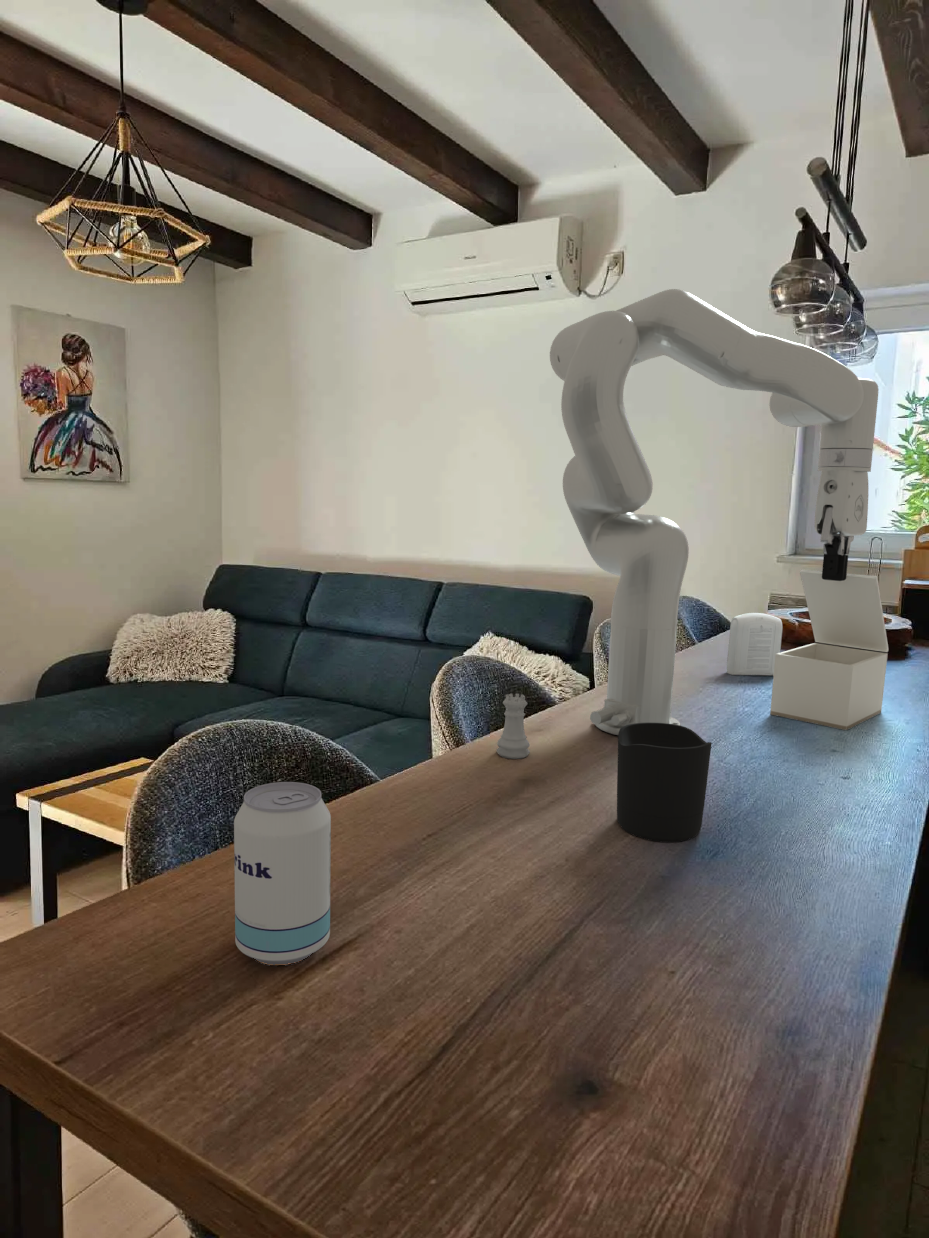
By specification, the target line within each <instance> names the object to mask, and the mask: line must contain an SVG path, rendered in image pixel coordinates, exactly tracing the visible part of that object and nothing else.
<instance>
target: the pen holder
mask: <svg viewBox="0 0 929 1238" xmlns="http://www.w3.org/2000/svg"><path fill="white" fill-rule="evenodd" d="M712 744H713V743H712V742H710V741H709V742H708V741H705V740H704V739H703V738H702V737H701V736H700V735H699V734H697V733H696V732H695V731H693V729H691V728H688V727H686V726H683V725H681V726H680V725H675V724H667V723H635V724H629V725H625V726H623V727H622V728H621V729H620V730H619V733H618V735H617V771H616V774H617V775H616V776H617V777H616V779H617V782H616V821H617V823H618V824H619V826H620V827H621V829H622V830H623V831H625V832H626V833H629V834H630V835H632V836H634V835H635V836H636V837H638V838H641V839H644V838H645V839H644V840H648V839H649V840H648V841H653V840H656V841H655V842H660V841H662V842H663V843H676V842H678V843H679V842H685V841H689V840H692V839H693V838H695V837H696V836H697V835H698V834H699V833H700V831H701V830H702V824H703V815H704V810H705V809H704V808H705V802H706V794H707V786H708V785H707V784H708V776H709V768H710V759H711V752H712ZM635 836H634V837H635ZM691 838H692V839H691ZM688 839H689V840H688ZM684 840H685V841H684Z"/></svg>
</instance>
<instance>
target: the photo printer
mask: <svg viewBox="0 0 929 1238" xmlns="http://www.w3.org/2000/svg"><path fill="white" fill-rule="evenodd" d="M729 626H730V627H729V637H728V645H727V646H728V647H727V648H728V649H727V658H726V659H727V660H726V673H727V674H728V675H732V676H768V677H769V676H771V677H772V676H773V677H774V665H775V654H777V653H781V646H782V637H783V629H784V628H783V622H782V619H781V618H780V617H778V616H776V615H772V614H768V613H763V612H748V613H743V614H739V615H735V616H734V617H732V619H731V621H730V625H729Z"/></svg>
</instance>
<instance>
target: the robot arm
mask: <svg viewBox="0 0 929 1238" xmlns="http://www.w3.org/2000/svg"><path fill="white" fill-rule="evenodd" d="M662 356H665V357H668V358H670V359H672V360H674V361H676V362H677V363H679V364H681V365H684V366H685V367H686V368H688V369H690V370H692V371H694V372H696V373H697V374H699V375H702V376H703V377H704V378H706V379H708V380H710V381H711V382H713V383H715V384H717V385H719V386H722V387H724V388H725V387H726V388H730V389H736V390H743V391H756V392H757V391H758V392H767V393H771V395H770V398H769V404H768V405H769V410H770V413H771V415H772V416H773V418H774V419H775V421H777V423H780V424H782V425H784V426H785V427H789V428H802V427H803V428H804V427H805V428H806V427H813V426H820V428H821V431H820V440H819V452H818V453H819V455H818V464H817V471H818V472H821V473H820V477H819V484H818V487H817V488H818V490H817V494H816V495H817V496H816V504H815V511H814V531H815V532H816V533H817V534H818V535H820V543H821V544H823V548H822V551H823V561H822V579H824V580H834V581H844V580H846V575H847V573H848V572H847V571H848V564H849V563H848V562H849V554H850V549H851V544H852V542H854V538H855V537H856V536H862V535H864V534H865V533H866V532H867V529H868V514H869V511H868V510H869V472H871V470H872V463H873V462H872V461H873V452H874V441H875V433H876V423H877V422H876V421H877V420H876V419H877V410H878V402H879V401H878V400H879V384H878V383H877V382H876V381H875V380H874V379H870V378H862V377H858V376H857V375H856V373H854V372H853V370H851V369H850V368H848V367H847V366H846V365H845V364H843V363H841V362H840V361H838V360H837V359H835V358H833V357H831V356H830V355H828V354H826V353H824V352H822V351H820V350H818V349H816V348H812V347H810V346H807V345H804V344H802V343H797V342H794V341H790V340H787V339H784V338H780V337H777V336H774V335H770V334H765V333H762V332H758V331H755V330H753V329H751V328H749V327H747V326H746V325H744V324H742V323H741V322H739V321H737V320H735V319H734V318H732V317H730V315H727V314H725V313H724V312H722V311H721V310H719V309H717V308H715V307H713V306H712V305H711V304H709V303H707V302H706V301H704V300H702V299H700V298H699V297H697V296H695V295H694V294H692V293H690V292H688V291H686V290H684V289H683V290H682V289H680V288H679V289H678V288H671V289H669V288H668V289H665V290H663V291H659V292H657V293H654V294H652V295H650V296H647V297H645V298H643V299H639V300H638V301H635V302H633V303H631V304H628V305H626V306H624V307H621V308H618V309H616V310H607V311H602V312H599V313H595V314H593V315H591V316H590V315H589V316H588V317H586V318H584V319H582V320H579V321H577V322H576V323H573V324H570V325H568V326H566V327H565V328H563V329H562V330H560V331H559V332H558V333H557V335H556V336H555V337H554V339H553V341H552V343H551V345H550V350H549V362H550V365H551V368H552V370H553V371H554V373H555V375H556V376H557V377H558V378H559V379H560V380H562V381H563V386H562V390H561V391H562V392H561V393H562V394H561V399H560V400H561V402H560V403H561V404H560V405H561V410H560V411H561V417H562V422H563V425H564V428H565V432H566V435H567V437H568V440H569V442H570V444H571V445H570V446H571V447H572V451H573V453H574V456H573V457H572V458H571V459H570V460H569V461H568V463H567V464H566V466H565V468H564V471H563V476H562V491H563V496H564V499H565V503H566V505H567V507H568V509H569V512H570V514H571V516H572V518H573V521H574V523H575V524H576V528H577V530H578V531H579V534H580V536H581V539H582V541H583V542H584V545H585V547H586V549H587V551H588V553H589V555H590V557H591V558H592V560H593V562H595V564H596V565H597V566H598V567H599V568H600V569H601V570H603V571H604V572H606V573H609V574H611V575H616V576H619V580H618V583H617V585H616V589H615V592H614V595H613V599H612V604H611V605H612V606H611V613H610V614H611V615H610V633H609V634H610V637H609V651H608V652H609V653H608V668H607V669H608V670H607V688H606V698H605V699H604V703H603V704H604V705H603V708H602V709H598V710H594V711H593V712H591V713H590V716H589V719H590V722H591V723H592V724H593V725H594V726H596V728H597V729H599V730H601V731H603V732H605V733H608V734H611V735H614V736H618V733H619V730H620V729H621V728H622V727H623V726H625V725H629V724H635V723H667V724H675V725H680V726H682V724H681V722H680V721H679V720H678V719H677V718H674V717H672V716H671V715H672V701H673V689H674V688H673V687H674V684H673V683H674V674H675V661H676V660H675V659H676V658H675V657H676V648H677V647H676V645H677V631H678V613H679V606H680V605H679V603H680V595H681V592H682V591H681V590H682V585H683V582H684V581H683V580H684V577H685V573H686V569H687V566H688V562H689V553H690V552H689V542H688V539H687V536H686V534H685V532H684V530H683V529H682V528H681V527H680V526H679V525H678V523H676V522H674V521H673V520H671V519H669V518H667V517H664V516H660V515H655V514H642V513H636V511H639V510H641V508H643V507H644V506H645V505H646V504H647V503H648V502H649V500H650V499H651V496H652V493H653V485H654V484H653V478H652V474H651V472H650V469H649V467H648V464H647V461H646V459H645V457H644V455H643V452H642V449H641V448H640V445H639V442H638V441H637V438H636V435H635V433H634V431H633V428H632V426H631V424H630V421H629V417H628V415H627V414H628V413H627V412H626V407H625V403H624V389H625V383H626V381H627V377H628V374H629V371H630V369H631V367H633V366H636V365H638V364H640V363H642V362H645V361H648V360H650V359H655V358H659V357H662Z"/></svg>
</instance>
